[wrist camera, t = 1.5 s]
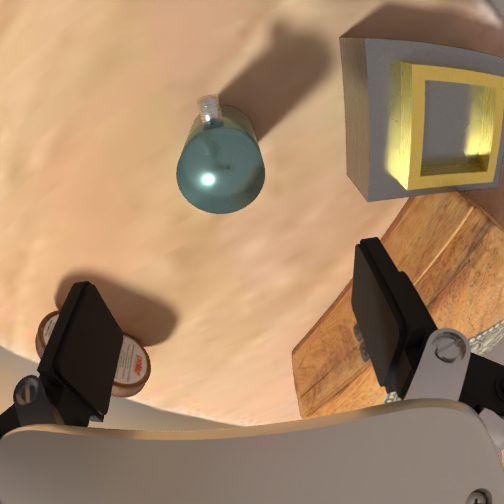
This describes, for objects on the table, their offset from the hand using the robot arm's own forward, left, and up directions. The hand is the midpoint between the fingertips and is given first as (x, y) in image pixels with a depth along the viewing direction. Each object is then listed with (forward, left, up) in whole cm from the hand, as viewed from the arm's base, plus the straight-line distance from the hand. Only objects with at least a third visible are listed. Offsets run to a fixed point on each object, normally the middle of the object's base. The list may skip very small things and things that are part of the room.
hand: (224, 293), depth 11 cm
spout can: (0, 0, -17) cm, 17 cm away
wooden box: (+21, +17, -17) cm, 32 cm away
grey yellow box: (-1, +17, -17) cm, 24 cm away
